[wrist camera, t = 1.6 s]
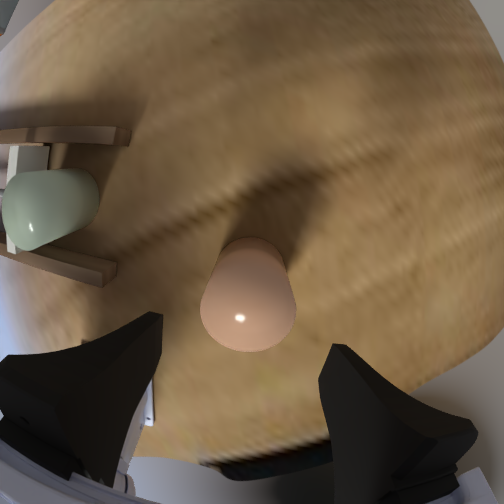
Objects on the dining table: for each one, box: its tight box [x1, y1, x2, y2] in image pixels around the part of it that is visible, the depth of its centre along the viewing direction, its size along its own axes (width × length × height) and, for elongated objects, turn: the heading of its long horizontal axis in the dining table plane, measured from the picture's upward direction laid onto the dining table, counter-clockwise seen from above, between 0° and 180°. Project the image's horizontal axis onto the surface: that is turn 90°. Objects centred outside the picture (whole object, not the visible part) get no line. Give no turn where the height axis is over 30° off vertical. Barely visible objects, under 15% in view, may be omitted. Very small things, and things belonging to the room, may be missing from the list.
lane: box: [0, 126, 131, 288], centre depth 17 cm, size 11×22×4 cm, turn 79°
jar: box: [200, 237, 296, 352], centre depth 18 cm, size 5×5×6 cm
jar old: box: [2, 168, 99, 251], centre depth 16 cm, size 5×5×6 cm
